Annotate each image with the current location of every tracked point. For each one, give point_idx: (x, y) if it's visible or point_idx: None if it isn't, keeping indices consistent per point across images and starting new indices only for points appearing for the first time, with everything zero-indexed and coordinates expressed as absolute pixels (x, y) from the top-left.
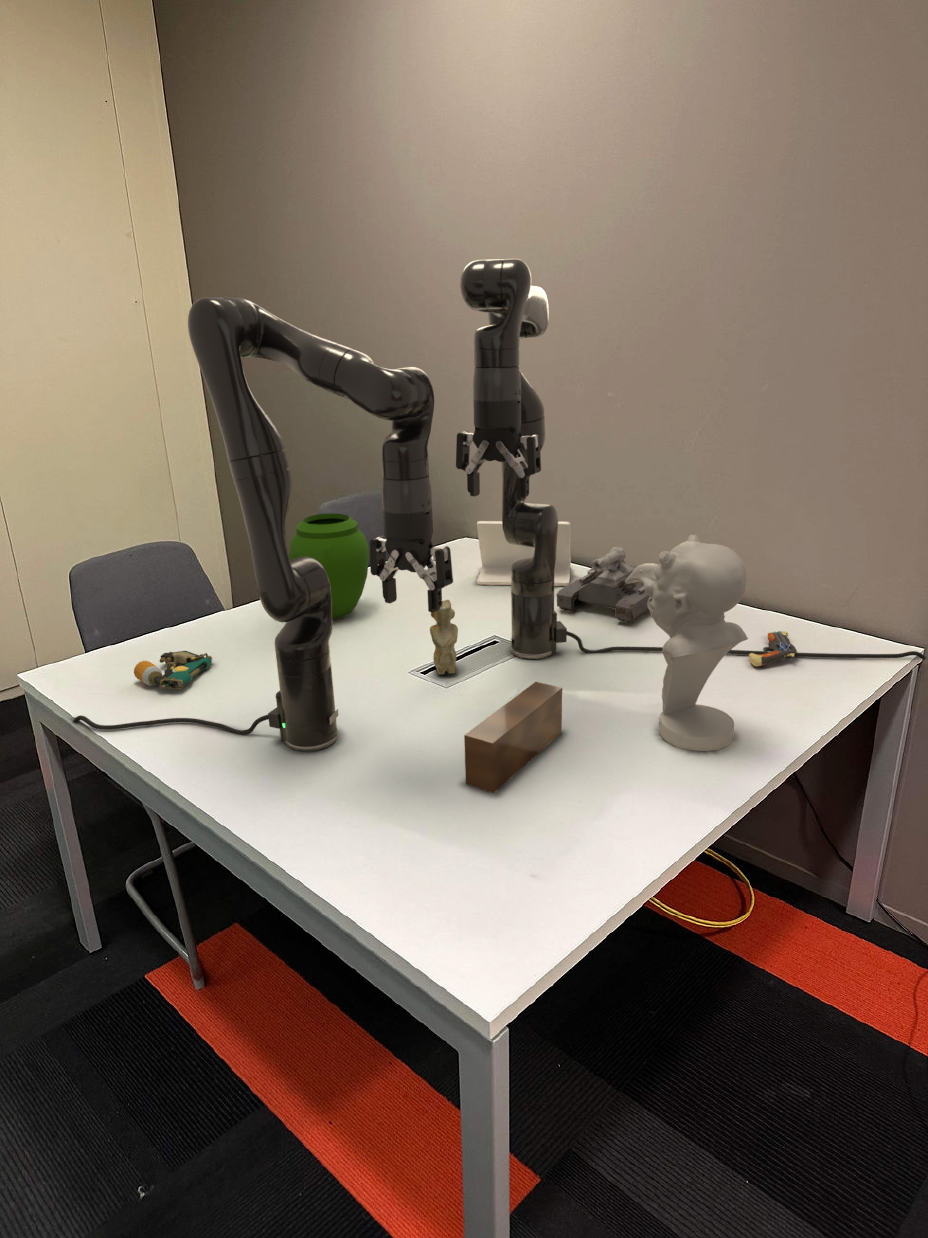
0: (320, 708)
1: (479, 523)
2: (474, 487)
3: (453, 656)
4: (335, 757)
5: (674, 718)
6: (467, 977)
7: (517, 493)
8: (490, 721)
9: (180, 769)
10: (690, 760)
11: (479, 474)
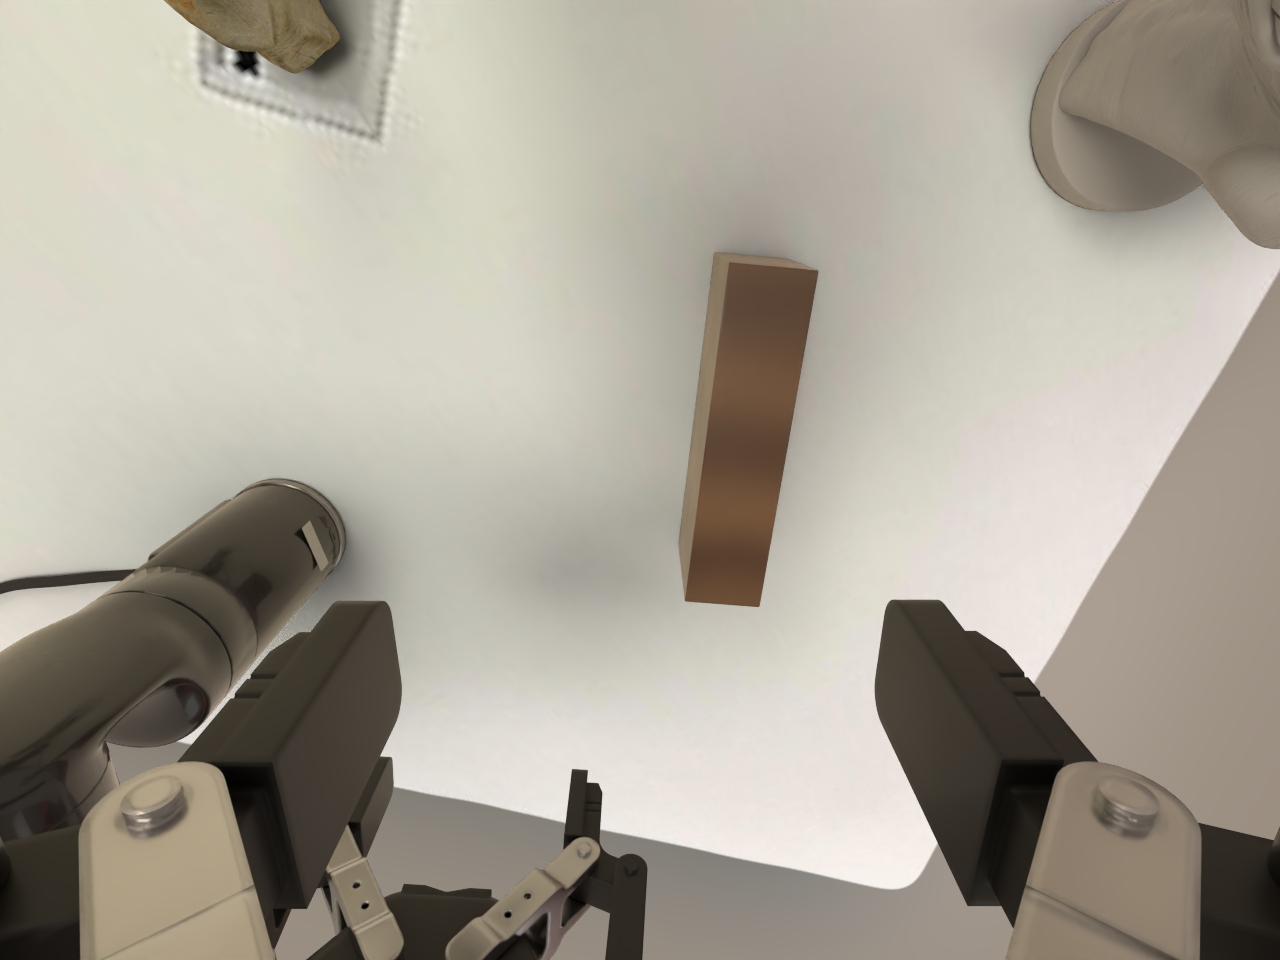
0: (300, 601)
1: None
2: (367, 752)
3: (316, 29)
4: (388, 567)
5: (1094, 125)
6: (867, 865)
7: (904, 755)
8: (711, 526)
9: None
10: (1113, 252)
11: (285, 737)
